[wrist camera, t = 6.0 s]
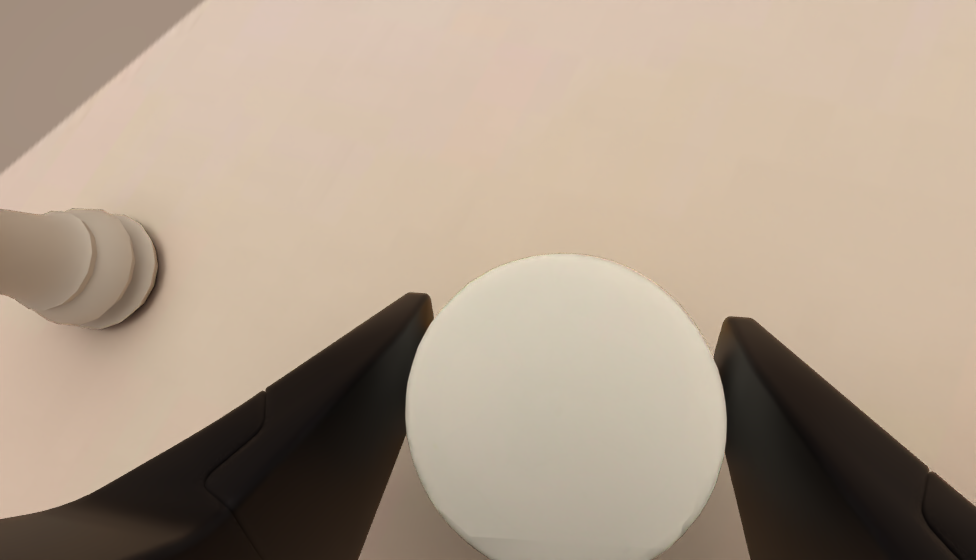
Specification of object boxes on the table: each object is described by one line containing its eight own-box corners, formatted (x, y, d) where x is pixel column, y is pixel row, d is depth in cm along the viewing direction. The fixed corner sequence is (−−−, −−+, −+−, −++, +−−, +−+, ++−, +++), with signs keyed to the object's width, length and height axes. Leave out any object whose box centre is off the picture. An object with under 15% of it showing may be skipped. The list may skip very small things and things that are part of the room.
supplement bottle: (687, 443, 14) (891, 581, 5) (517, 499, 15) (423, 715, 6) (617, 275, 16) (680, 141, 6) (462, 333, 16) (309, 287, 7)
